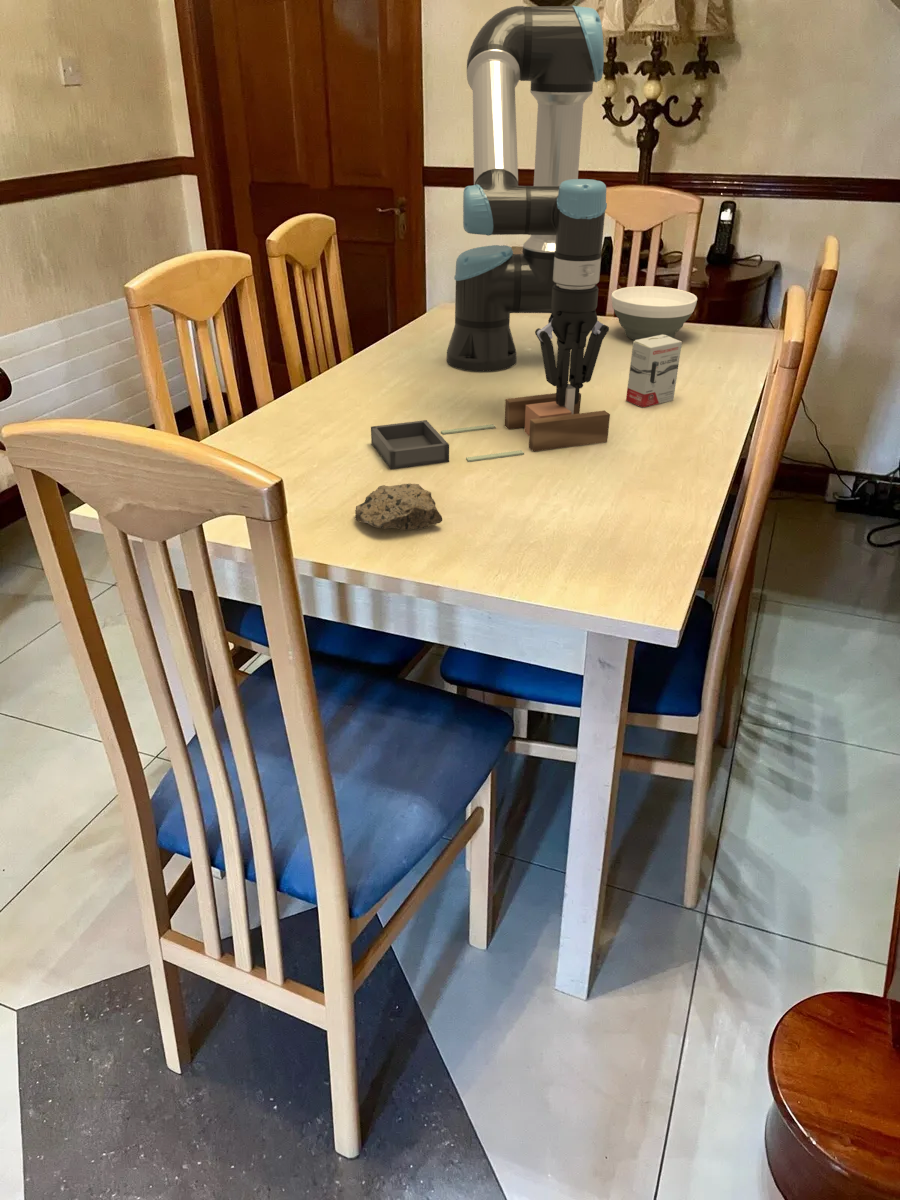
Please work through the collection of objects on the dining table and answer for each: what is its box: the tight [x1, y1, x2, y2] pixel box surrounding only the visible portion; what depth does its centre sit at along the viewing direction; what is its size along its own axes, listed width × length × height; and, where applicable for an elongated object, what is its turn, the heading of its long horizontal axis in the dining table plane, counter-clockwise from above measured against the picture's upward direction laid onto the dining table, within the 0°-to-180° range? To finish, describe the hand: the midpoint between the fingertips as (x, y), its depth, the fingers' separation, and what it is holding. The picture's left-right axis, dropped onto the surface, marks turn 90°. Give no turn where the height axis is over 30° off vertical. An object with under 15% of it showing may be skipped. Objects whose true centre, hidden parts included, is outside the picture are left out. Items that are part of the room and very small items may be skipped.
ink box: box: [625, 335, 683, 409], centre depth 173 cm, size 8×5×12 cm, turn 124°
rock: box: [354, 482, 443, 531], centre depth 130 cm, size 11×12×4 cm
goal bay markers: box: [440, 423, 525, 463], centre depth 157 cm, size 14×10×1 cm
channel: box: [503, 392, 611, 452], centre depth 159 cm, size 13×14×5 cm
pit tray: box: [370, 419, 450, 470], centre depth 152 cm, size 12×10×3 cm
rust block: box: [523, 401, 572, 436], centre depth 158 cm, size 6×6×5 cm
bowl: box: [610, 285, 698, 341], centre depth 212 cm, size 20×20×10 cm
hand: (565, 422), depth 160 cm, fingers closed
